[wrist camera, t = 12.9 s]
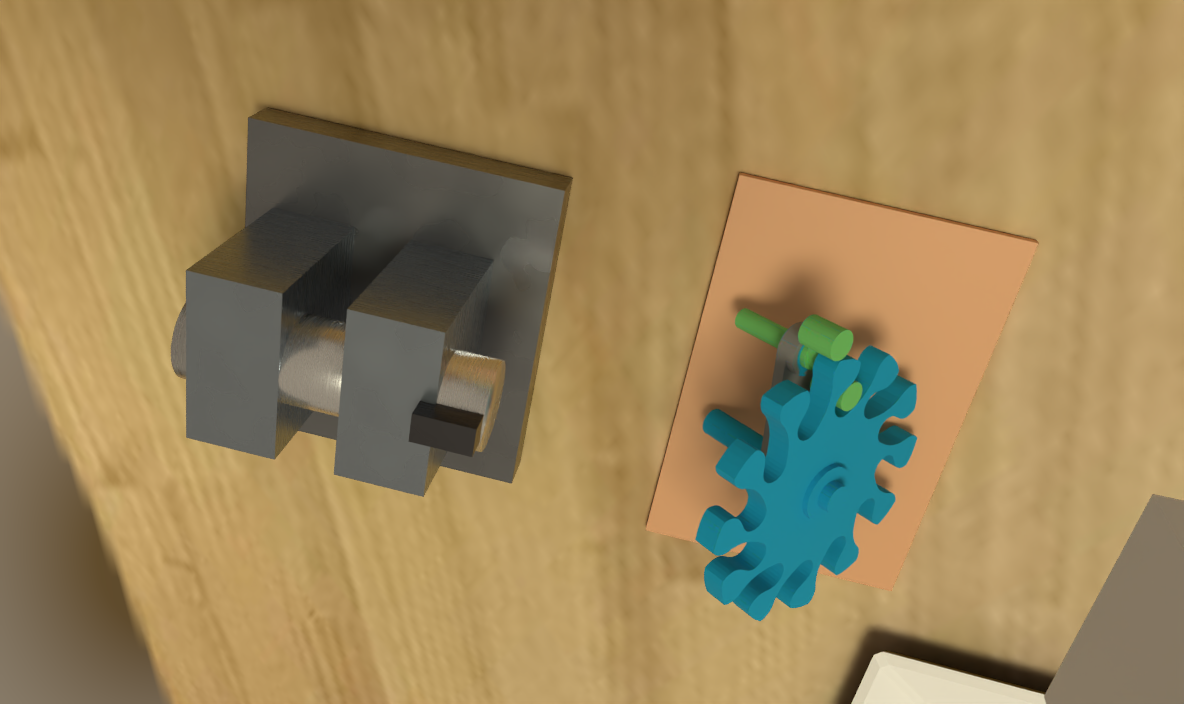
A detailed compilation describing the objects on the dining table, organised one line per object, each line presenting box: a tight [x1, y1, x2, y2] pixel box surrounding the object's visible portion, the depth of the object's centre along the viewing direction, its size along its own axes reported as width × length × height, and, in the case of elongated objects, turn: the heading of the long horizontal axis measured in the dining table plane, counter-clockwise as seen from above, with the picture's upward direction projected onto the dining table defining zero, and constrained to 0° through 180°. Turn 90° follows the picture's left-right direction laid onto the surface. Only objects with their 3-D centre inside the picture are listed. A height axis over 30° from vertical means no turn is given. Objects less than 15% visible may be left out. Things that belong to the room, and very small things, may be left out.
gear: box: [695, 308, 917, 621], centre depth 35 cm, size 11×6×10 cm
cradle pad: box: [646, 173, 1039, 591], centre depth 37 cm, size 15×10×1 cm, turn 169°
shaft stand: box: [171, 108, 573, 497], centre depth 34 cm, size 12×11×8 cm
